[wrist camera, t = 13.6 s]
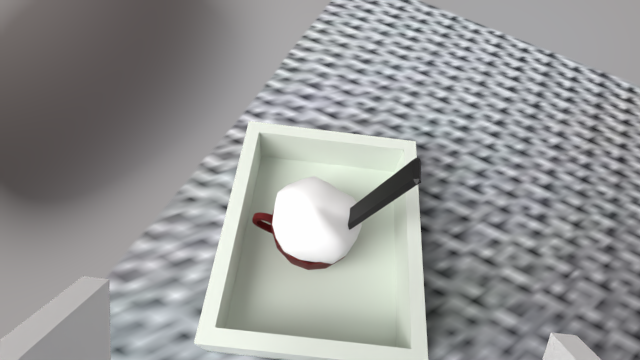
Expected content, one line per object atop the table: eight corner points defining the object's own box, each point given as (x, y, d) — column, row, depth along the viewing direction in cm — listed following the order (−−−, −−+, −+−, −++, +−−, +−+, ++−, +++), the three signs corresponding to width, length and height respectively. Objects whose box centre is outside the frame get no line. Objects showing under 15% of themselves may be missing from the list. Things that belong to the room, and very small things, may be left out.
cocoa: (247, 246, 29) (211, 164, 18) (290, 186, 31) (280, 86, 21) (354, 309, 26) (382, 258, 16) (390, 239, 29) (433, 156, 19)
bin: (401, 169, 34) (415, 141, 30) (407, 372, 25) (428, 369, 22) (253, 152, 34) (249, 121, 30) (207, 351, 25) (193, 343, 21)
